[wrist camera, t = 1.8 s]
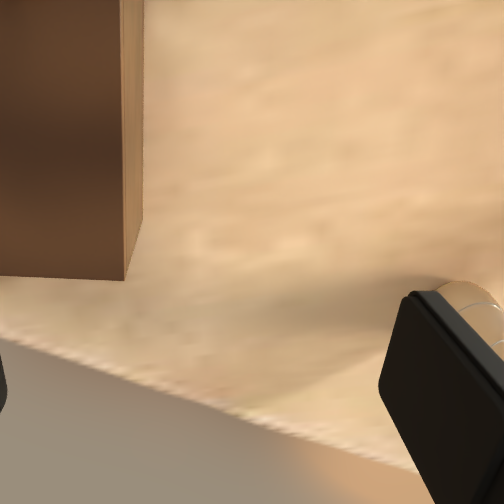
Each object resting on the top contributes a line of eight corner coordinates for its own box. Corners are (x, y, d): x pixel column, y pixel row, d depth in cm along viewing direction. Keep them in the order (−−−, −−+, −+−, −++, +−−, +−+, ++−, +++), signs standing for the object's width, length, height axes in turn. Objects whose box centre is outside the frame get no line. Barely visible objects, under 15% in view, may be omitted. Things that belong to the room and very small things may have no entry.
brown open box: (-95, -58, 26) (-226, -98, 18) (144, -23, 28) (122, -44, 20) (-43, 207, 33) (-119, 263, 25) (142, 219, 35) (126, 274, 27)
